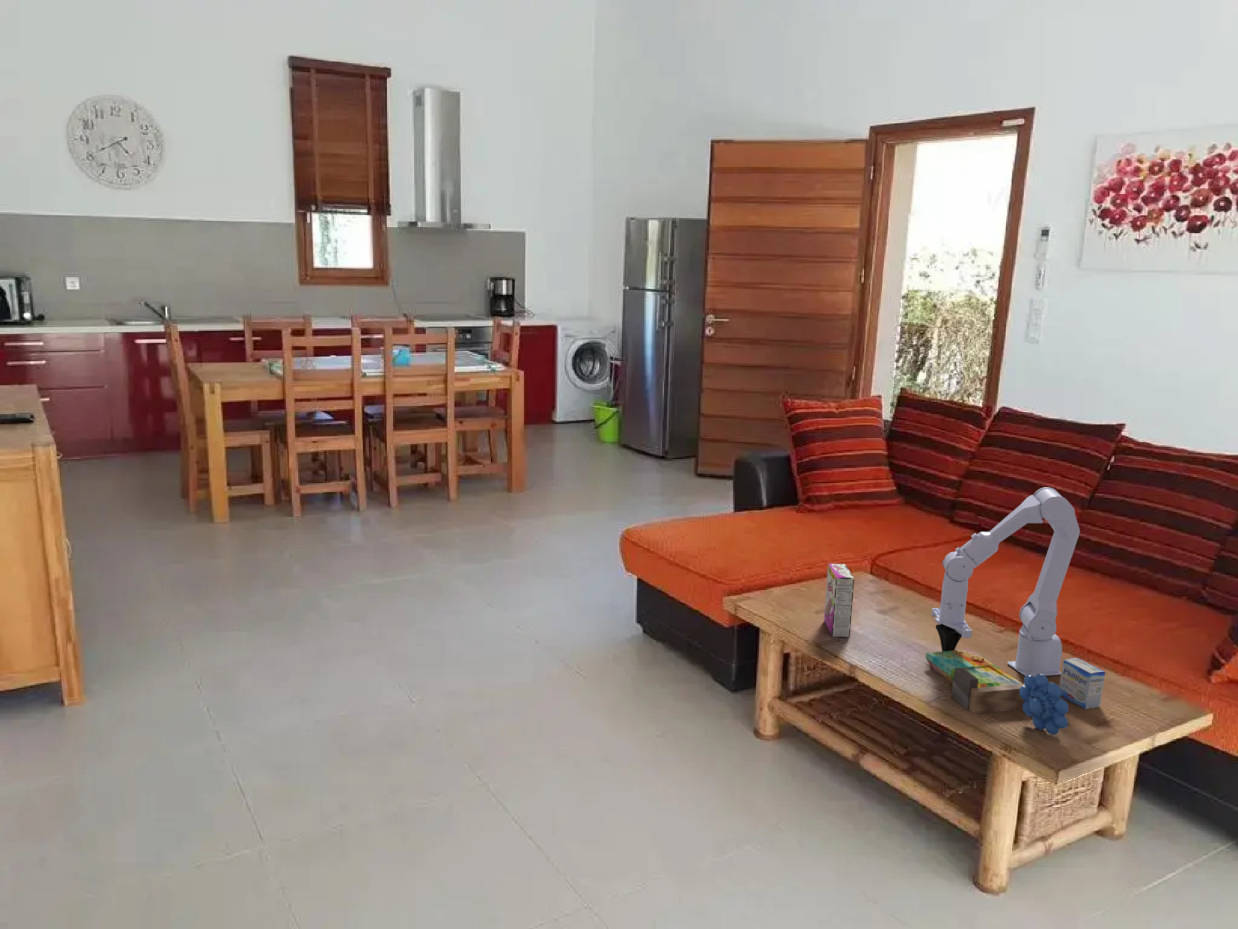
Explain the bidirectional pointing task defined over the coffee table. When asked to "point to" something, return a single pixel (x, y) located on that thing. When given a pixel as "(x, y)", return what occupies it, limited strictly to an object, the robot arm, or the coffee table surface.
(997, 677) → the puzzle game
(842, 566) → the candy bar box
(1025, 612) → the robot arm
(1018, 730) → the coffee table surface
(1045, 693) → the grapes
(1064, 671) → the medicine box
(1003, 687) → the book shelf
